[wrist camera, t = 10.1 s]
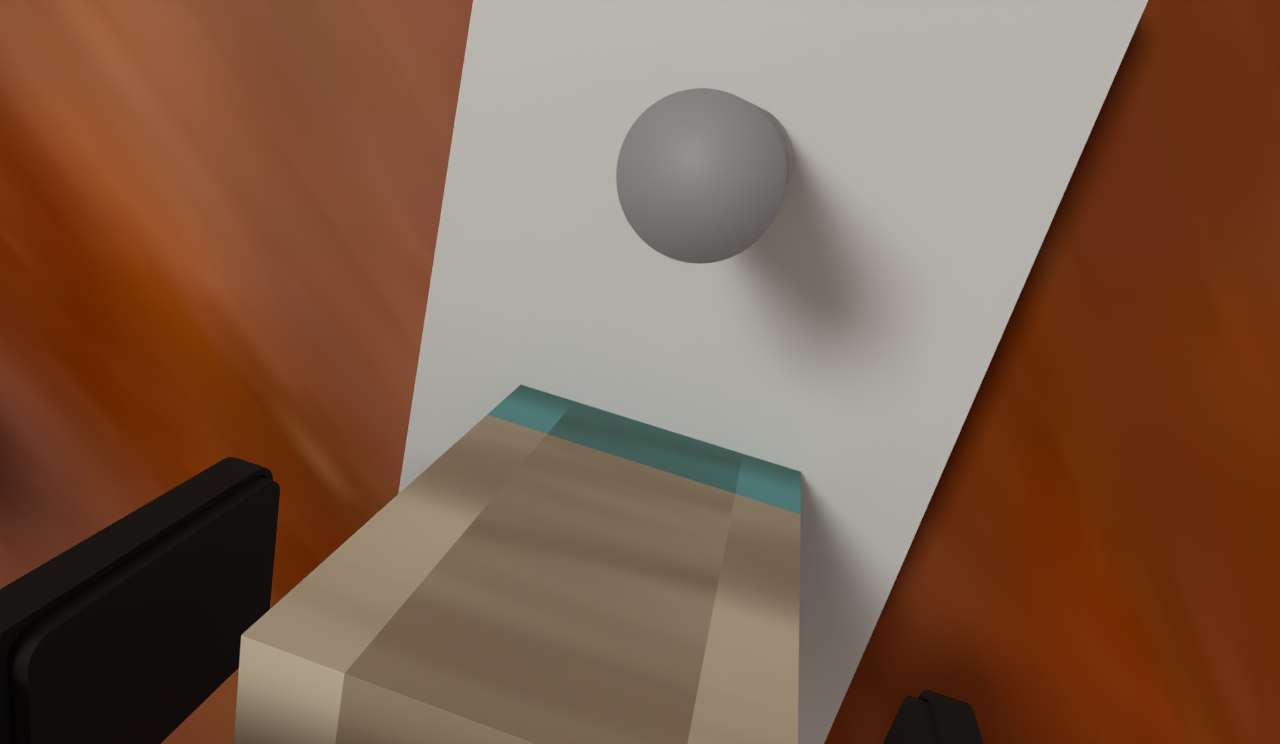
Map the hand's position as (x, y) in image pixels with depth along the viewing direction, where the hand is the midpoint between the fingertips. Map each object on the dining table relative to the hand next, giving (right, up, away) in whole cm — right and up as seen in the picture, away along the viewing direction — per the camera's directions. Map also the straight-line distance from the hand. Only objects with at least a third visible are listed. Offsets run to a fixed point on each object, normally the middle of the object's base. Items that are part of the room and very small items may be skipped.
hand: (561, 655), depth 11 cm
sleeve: (+1, +1, +3) cm, 3 cm away
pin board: (+2, +4, +3) cm, 6 cm away
